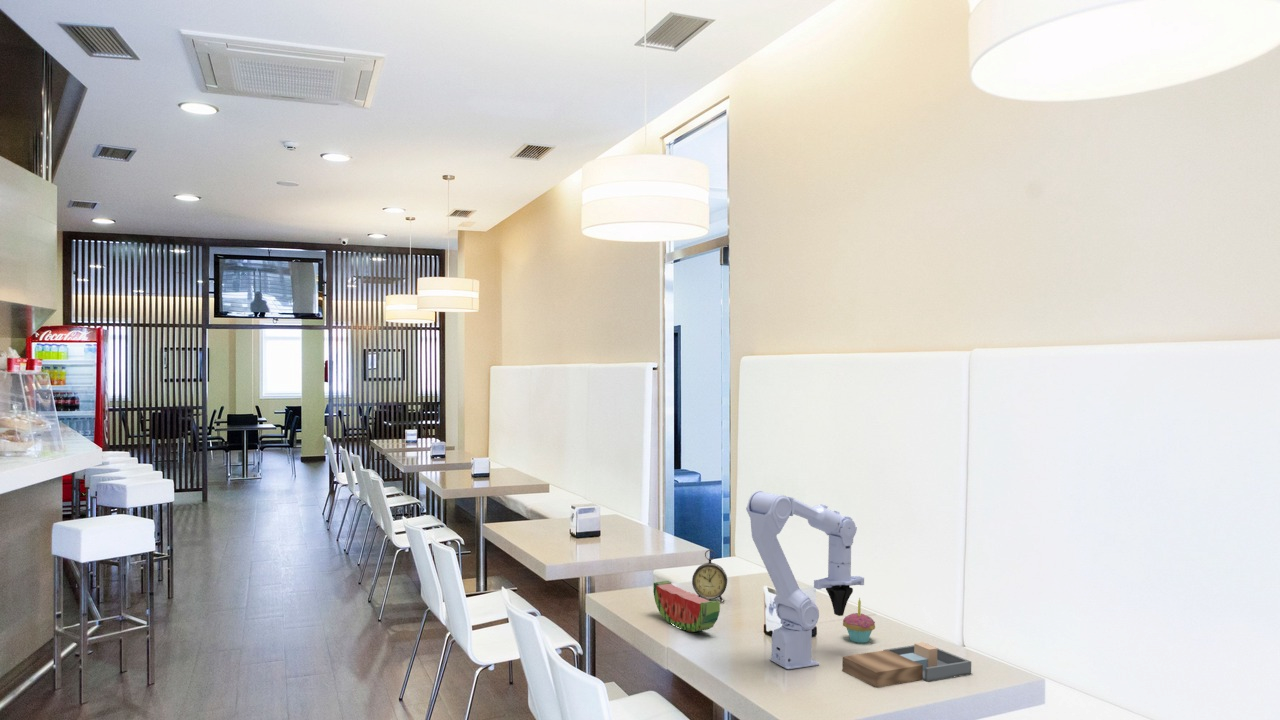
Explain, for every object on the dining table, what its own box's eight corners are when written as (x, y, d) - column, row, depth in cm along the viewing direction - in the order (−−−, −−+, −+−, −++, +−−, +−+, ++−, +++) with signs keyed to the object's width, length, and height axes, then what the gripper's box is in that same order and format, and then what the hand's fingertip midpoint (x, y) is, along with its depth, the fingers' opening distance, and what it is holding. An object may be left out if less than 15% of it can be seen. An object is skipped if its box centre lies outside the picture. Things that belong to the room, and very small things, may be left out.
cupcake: (876, 646, 220) (876, 600, 220) (843, 643, 221) (843, 598, 222) (873, 636, 228) (874, 593, 228) (842, 634, 230) (842, 590, 230)
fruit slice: (651, 616, 243) (652, 582, 244) (669, 614, 247) (670, 580, 247) (702, 641, 221) (703, 603, 221) (721, 638, 224) (722, 601, 224)
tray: (927, 681, 194) (927, 668, 194) (883, 661, 207) (883, 649, 207) (971, 674, 200) (971, 661, 200) (925, 655, 213) (925, 643, 213)
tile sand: (929, 649, 200) (937, 648, 201) (914, 643, 205) (922, 642, 206) (929, 670, 200) (937, 669, 201) (914, 663, 205) (922, 662, 206)
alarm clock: (691, 602, 261) (692, 550, 261) (693, 597, 266) (694, 547, 267) (726, 604, 259) (727, 552, 259) (727, 600, 264) (728, 549, 265)
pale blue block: (912, 672, 198) (912, 661, 198) (897, 665, 203) (897, 655, 203) (927, 669, 201) (927, 658, 201) (912, 663, 205) (912, 652, 205)
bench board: (876, 687, 189) (876, 672, 189) (842, 670, 200) (842, 656, 200) (922, 679, 195) (922, 665, 195) (887, 663, 206) (887, 649, 206)
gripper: (826, 566, 207) (825, 621, 207) (872, 563, 213) (871, 616, 213) (809, 561, 214) (808, 614, 213) (854, 557, 219) (853, 609, 219)
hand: (838, 614), depth 213 cm, fingers closed
